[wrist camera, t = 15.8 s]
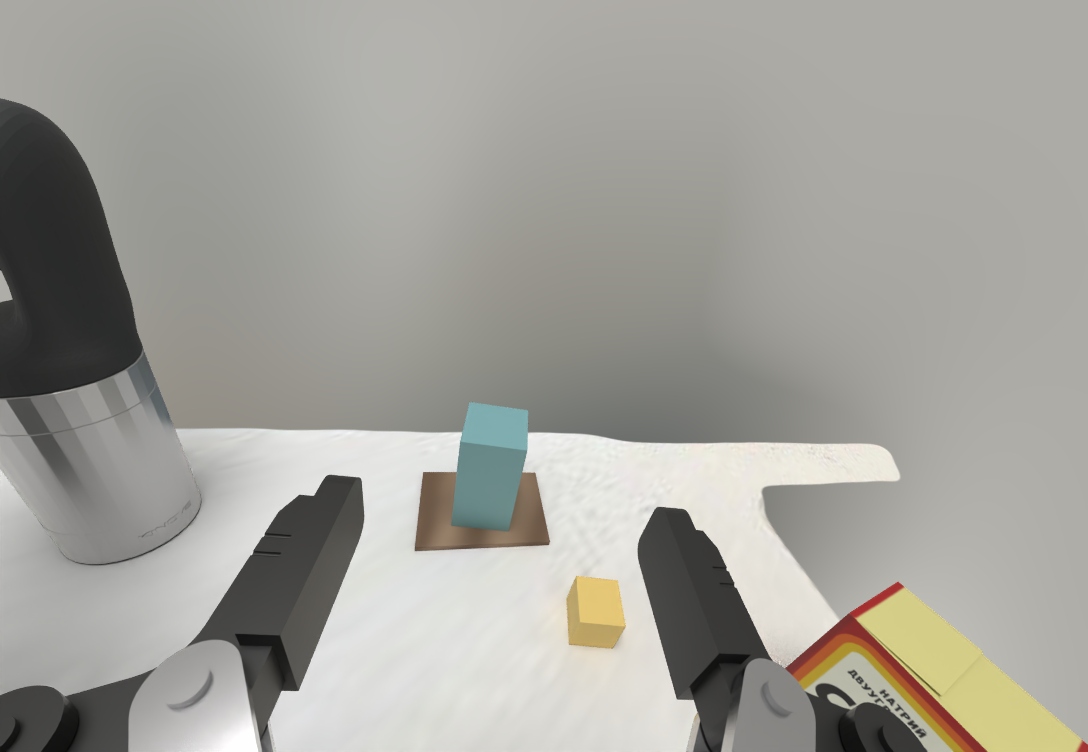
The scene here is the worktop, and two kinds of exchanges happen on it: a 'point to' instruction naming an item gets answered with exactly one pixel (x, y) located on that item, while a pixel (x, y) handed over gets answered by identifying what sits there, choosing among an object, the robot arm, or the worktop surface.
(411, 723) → the worktop surface
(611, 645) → the small yellow cube
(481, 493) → the tall teal block
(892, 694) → the baking soda box
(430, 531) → the mat
